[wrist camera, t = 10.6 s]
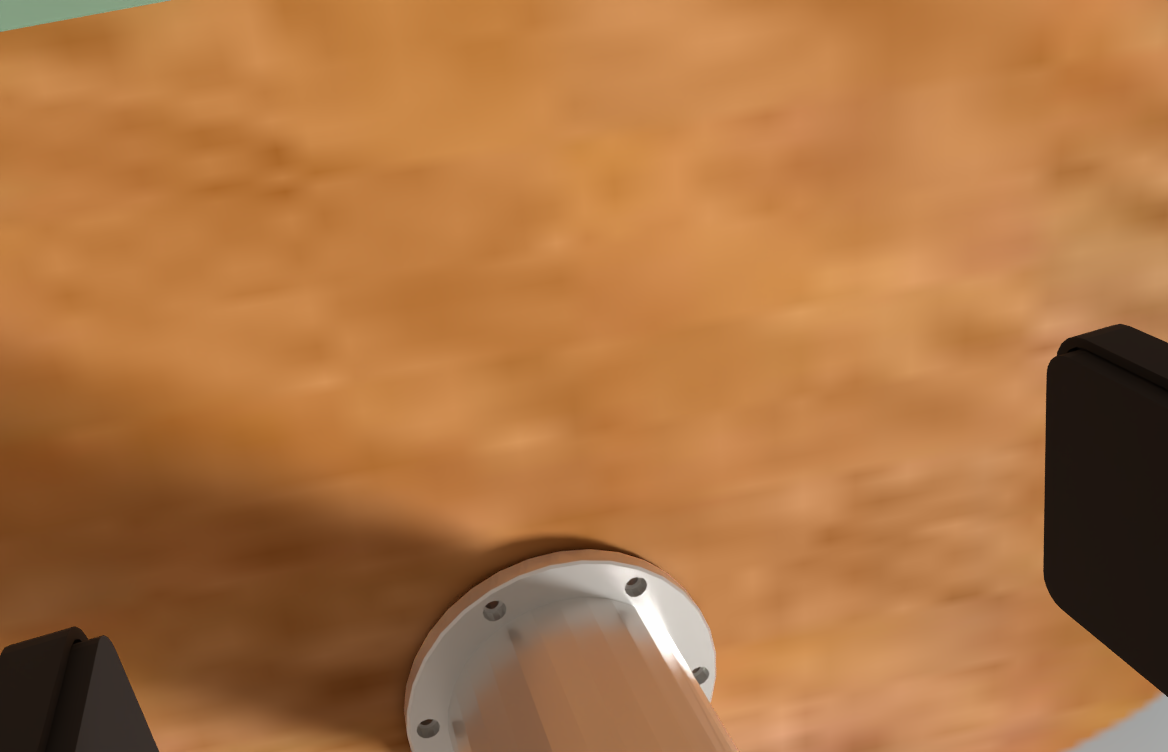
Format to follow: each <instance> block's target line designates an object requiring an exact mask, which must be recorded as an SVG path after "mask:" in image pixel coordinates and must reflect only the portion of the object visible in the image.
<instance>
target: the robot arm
mask: <svg viewBox="0 0 1168 752" xmlns="http://www.w3.org/2000/svg"><path fill="white" fill-rule="evenodd" d="M1043 571H1044V580H1045V583H1046V587H1047V589H1048V591H1049V593H1050V595H1051V597H1052V598H1053V600H1054V601H1055V603H1056V604H1057V605H1058V606H1059V607H1060V608H1061V609H1062V610H1063V611H1064V612H1066V613H1067V614H1068V615H1069V616H1070V617H1072V618H1073V619H1074V620H1075V621H1076V622H1078V623H1079V624H1080V625H1081V626H1083V627H1084V628H1085V629H1086V630H1087V631H1089V632H1090V633H1091V634H1092V635H1093V636H1095V637H1096V638H1097V639H1098V640H1100V641H1101V642H1102V643H1103V644H1104V645H1106V646H1107V647H1108V648H1109V649H1110V650H1112V651H1113V652H1114V653H1115V654H1116V655H1118V656H1119V657H1120V658H1121V659H1123V660H1124V661H1125V662H1126V663H1127V664H1129V665H1130V666H1131V667H1132V668H1133V669H1135V670H1136V671H1137V672H1138V673H1139V674H1141V675H1142V676H1143V677H1144V678H1146V679H1147V680H1148V681H1149V682H1150V683H1152V684H1153V685H1154V686H1155V687H1156V688H1158V689H1159V690H1160V691H1161V692H1162V693H1164V694H1165V695H1166V696H1167V697H1168V343H1167V342H1165V341H1162V340H1160V339H1158V338H1155V337H1153V336H1151V335H1149V334H1146V333H1144V332H1142V331H1140V330H1137V329H1135V328H1133V327H1130V326H1127V325H1123V324H1118V325H1113V326H1109V327H1106V328H1102V329H1099V330H1095V331H1092V332H1088V333H1085V334H1081V335H1078V336H1074V337H1071V338H1068V339H1067V340H1065V341H1064V342H1063V343H1062V344H1061V346H1060V348H1059V350H1058V352H1057V356H1056V357H1054V358H1053V359H1052V360H1051V361H1050V363H1049V365H1048V369H1047V386H1046V447H1045V509H1044V570H1043ZM715 680H716V651H715V647H714V643H713V639H712V635H711V630H710V628H709V626H708V624H707V623H706V621H705V619H704V617H703V615H702V613H701V611H700V609H699V608H698V606H697V605H696V603H695V602H694V601H693V599H692V598H691V596H690V595H689V594H688V592H687V591H686V589H685V588H684V587H682V586H681V585H680V584H679V583H678V582H677V581H676V580H675V579H674V578H673V577H671V576H670V575H669V574H668V573H667V572H665V571H663V570H662V569H660V568H658V567H656V566H654V565H653V564H651V563H649V562H647V561H645V560H643V559H639V558H636V557H633V556H630V555H626V554H623V553H620V552H613V551H603V550H594V549H585V550H571V551H559V552H555V553H551V554H547V555H543V556H538V557H534V558H530V559H527V560H525V561H523V562H520V563H518V564H515V565H513V566H511V567H508V568H506V569H504V570H501V571H499V572H497V573H496V574H494V575H493V576H491V577H489V578H488V579H486V580H485V581H483V582H481V583H480V584H478V585H477V586H475V587H473V588H472V589H471V590H469V591H468V592H467V593H466V594H465V595H464V596H463V597H461V598H460V599H459V600H458V601H457V602H456V603H455V604H453V605H452V606H451V607H450V608H449V609H448V610H447V611H446V612H445V614H444V615H443V616H442V617H441V618H440V620H439V621H438V622H437V623H436V625H435V626H434V627H433V628H432V629H431V631H430V632H429V633H428V635H427V637H426V639H425V640H424V642H423V644H422V646H421V648H420V650H419V651H418V653H417V655H416V657H415V659H414V662H413V665H412V668H411V671H410V674H409V678H408V681H407V684H406V692H405V703H404V716H405V723H406V730H407V736H408V741H409V744H410V748H411V751H412V752H739V750H738V748H737V747H736V745H735V743H734V742H733V740H732V738H731V737H730V735H729V733H728V732H727V730H726V728H725V727H724V725H723V723H722V722H721V720H720V718H719V717H718V715H717V713H716V712H715V710H714V708H713V707H712V705H711V699H712V694H713V689H714V685H715ZM0 752H159V750H158V748H157V746H156V743H155V741H154V739H153V736H152V734H151V732H150V729H149V727H148V725H147V722H146V720H145V718H144V715H143V713H142V711H141V708H140V706H139V704H138V701H137V699H136V697H135V694H134V692H133V690H132V687H131V685H130V683H129V680H128V678H127V676H126V673H125V671H124V669H123V666H122V664H121V662H120V659H119V657H118V655H117V652H116V650H115V648H114V646H113V644H112V642H111V641H110V640H109V638H108V637H106V636H104V635H103V636H100V637H96V638H93V639H90V640H88V639H87V637H86V635H85V634H84V633H83V632H82V630H81V629H79V628H77V627H71V628H68V629H64V630H61V631H58V632H54V633H51V634H47V635H44V636H40V637H37V638H33V639H30V640H26V641H23V642H20V643H16V644H13V645H10V646H7V647H5V648H4V650H3V651H2V653H1V655H0Z"/></svg>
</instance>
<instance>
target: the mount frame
mask: <svg viewBox="0 0 1168 752" xmlns="http://www.w3.org/2000/svg"><path fill="white" fill-rule="evenodd" d="M163 1H169V0H0V32H1V31H7V30H12V29H18V28H23V27H28V26H34V25H39V24H45V23H50V22H55V21H61V20H66V19H72V18H77V17H82V16H88V15H93V14H99V13H104V12H109V11H115V10H120V9H126V8H131V7H136V6H142V5H147V4H153V3H158V2H163Z"/></svg>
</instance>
